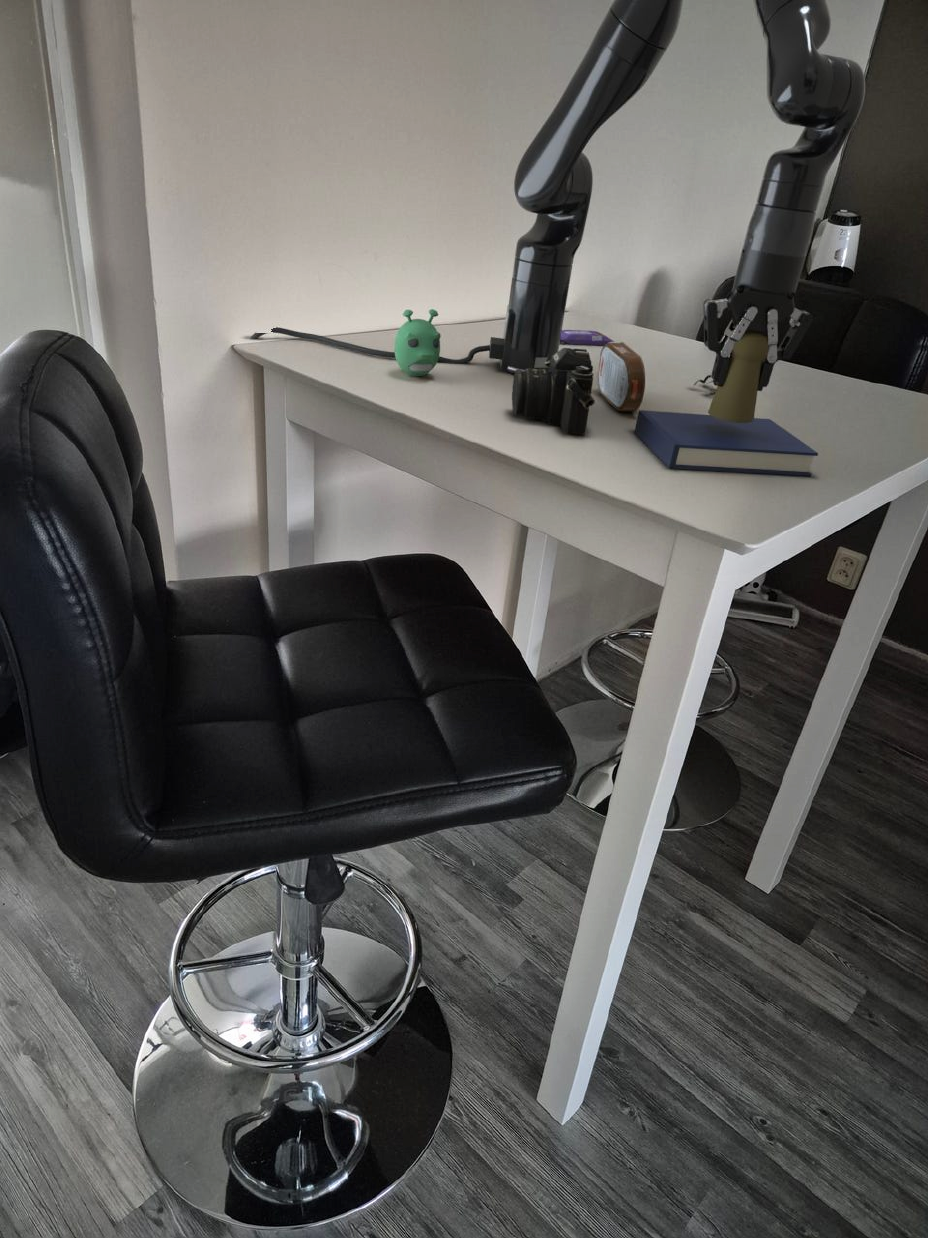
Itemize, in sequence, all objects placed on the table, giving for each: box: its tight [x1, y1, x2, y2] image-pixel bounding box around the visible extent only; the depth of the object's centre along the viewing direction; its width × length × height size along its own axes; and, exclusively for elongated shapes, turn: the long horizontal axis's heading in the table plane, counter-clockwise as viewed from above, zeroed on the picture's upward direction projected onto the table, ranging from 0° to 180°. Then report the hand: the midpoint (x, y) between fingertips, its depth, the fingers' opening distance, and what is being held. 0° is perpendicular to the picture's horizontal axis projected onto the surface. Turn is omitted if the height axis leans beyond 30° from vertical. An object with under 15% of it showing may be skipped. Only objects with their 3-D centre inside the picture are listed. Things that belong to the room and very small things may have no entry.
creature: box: [693, 374, 717, 397], centre depth 148 cm, size 8×5×8 cm
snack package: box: [560, 329, 616, 346], centre depth 171 cm, size 12×2×5 cm
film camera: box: [511, 347, 596, 436], centre depth 123 cm, size 18×12×10 cm
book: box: [633, 409, 819, 477], centre depth 119 cm, size 20×14×3 cm
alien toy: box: [394, 308, 442, 377], centre depth 134 cm, size 7×8×10 cm
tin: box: [597, 341, 646, 413], centre depth 134 cm, size 15×3×8 cm, turn 9°
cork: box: [707, 333, 770, 423], centre depth 115 cm, size 6×6×11 cm
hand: (737, 386), depth 115 cm, fingers closed on cork, 4 cm apart
